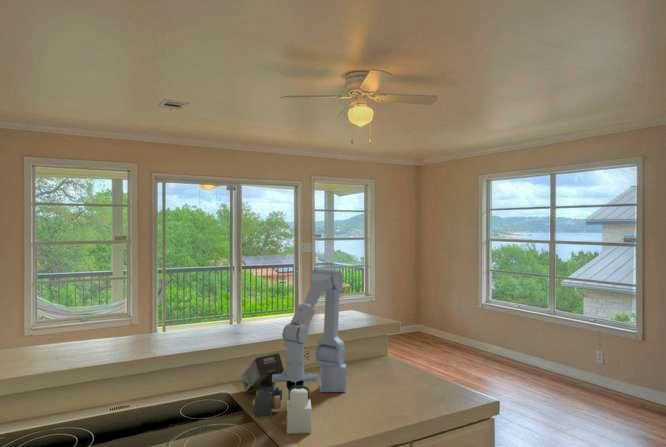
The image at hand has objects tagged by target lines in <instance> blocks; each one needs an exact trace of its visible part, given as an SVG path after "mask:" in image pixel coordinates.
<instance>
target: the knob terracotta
mask: <svg viewBox="0 0 666 447" xmlns="http://www.w3.org/2000/svg"><path fill="white" fill-rule="evenodd" d="M281 401H282V400H281V397H280V396H274V397H273V399H272V406H273V410H280V409H281V403H282V402H281ZM252 406H253V407H255V398H252Z"/></svg>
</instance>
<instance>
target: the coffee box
mask: <svg viewBox="0 0 666 447" xmlns="http://www.w3.org/2000/svg"><path fill="white" fill-rule="evenodd" d="M284 371H285V368H284V366H283V362H282V358H281V356H280V353H275V354H268V355H265V356H259V357H255V359H254V360H253V361H252V362H251V363H250V364H249V366H248V367H247V369H246V370H245V371H244V372H243V373H242V374H241V376H240V378H241V381H242V382H241V384H242V387H243V391H244V393H245V394H246V393H247V394H248V393H250V392H256V391H257V390H258V388H259V385H260V382H261V381H272V375H273V374H283V372H284Z"/></svg>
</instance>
